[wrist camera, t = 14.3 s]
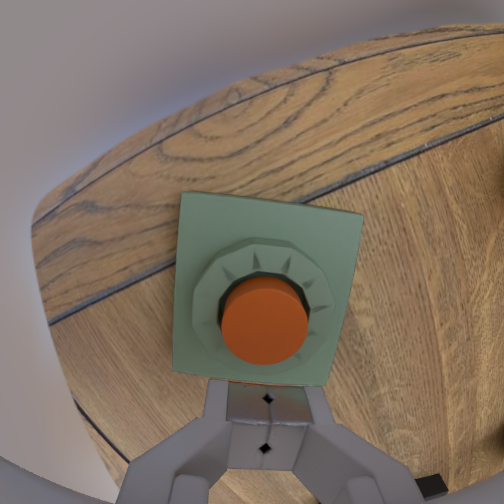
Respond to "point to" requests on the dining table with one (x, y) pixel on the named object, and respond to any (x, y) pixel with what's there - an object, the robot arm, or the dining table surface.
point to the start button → (264, 321)
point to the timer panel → (431, 487)
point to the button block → (254, 265)
